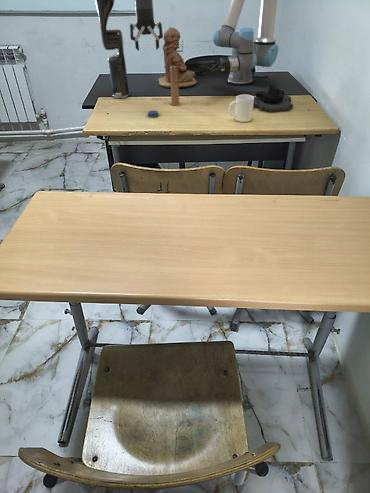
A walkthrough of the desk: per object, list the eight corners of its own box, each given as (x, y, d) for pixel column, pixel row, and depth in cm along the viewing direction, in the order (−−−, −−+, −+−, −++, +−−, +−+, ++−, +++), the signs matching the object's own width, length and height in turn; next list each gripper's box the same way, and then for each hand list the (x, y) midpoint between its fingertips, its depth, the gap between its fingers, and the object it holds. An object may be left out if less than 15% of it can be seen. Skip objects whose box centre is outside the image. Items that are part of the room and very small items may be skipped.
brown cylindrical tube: (171, 103, 195) (169, 65, 183) (178, 102, 195) (177, 65, 183) (172, 105, 192) (170, 67, 180) (179, 105, 192) (178, 67, 180)
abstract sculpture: (255, 94, 173) (243, 83, 188) (253, 113, 179) (242, 100, 194) (304, 90, 176) (288, 79, 191) (301, 109, 182) (286, 97, 197)
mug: (229, 123, 170) (230, 101, 163) (225, 117, 176) (226, 95, 170) (254, 121, 171) (256, 99, 164) (249, 115, 177) (251, 93, 171)
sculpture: (197, 88, 213) (196, 30, 194) (156, 89, 214) (152, 31, 194) (196, 75, 234) (196, 22, 215) (159, 76, 235) (156, 23, 215)
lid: (160, 114, 182) (159, 111, 181) (155, 118, 179) (154, 114, 178) (151, 113, 184) (151, 109, 183) (146, 116, 181) (146, 113, 179)
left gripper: (127, 9, 148) (132, 52, 159) (161, 7, 150) (164, 50, 160) (127, 6, 154) (131, 49, 164) (159, 5, 155) (162, 47, 166)
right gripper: (237, 78, 183) (198, 85, 178) (218, 66, 201) (183, 71, 196) (238, 62, 178) (198, 68, 174) (219, 51, 196) (182, 56, 191)
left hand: (147, 49), depth 162 cm, fingers open, 8 cm apart
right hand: (190, 70), depth 185 cm, fingers open, 13 cm apart
